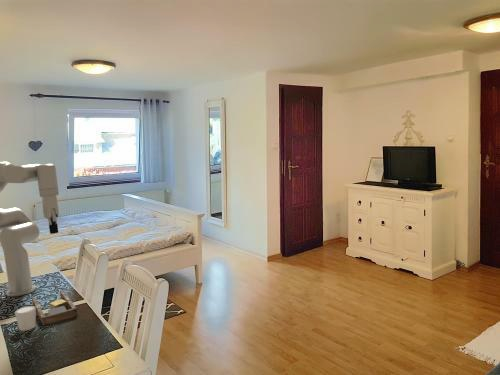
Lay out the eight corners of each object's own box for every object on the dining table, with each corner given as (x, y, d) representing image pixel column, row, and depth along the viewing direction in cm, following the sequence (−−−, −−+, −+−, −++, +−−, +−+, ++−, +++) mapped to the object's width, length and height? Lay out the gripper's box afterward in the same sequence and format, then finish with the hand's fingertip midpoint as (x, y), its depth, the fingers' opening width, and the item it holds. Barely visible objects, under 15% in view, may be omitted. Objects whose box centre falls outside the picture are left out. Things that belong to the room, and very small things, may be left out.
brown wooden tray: (32, 304, 175) (31, 297, 174) (63, 296, 182) (62, 289, 181) (42, 325, 154) (41, 317, 153) (77, 315, 161) (76, 308, 160)
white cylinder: (28, 331, 149) (26, 313, 148) (12, 331, 151) (10, 313, 150) (41, 323, 156) (39, 306, 155) (26, 322, 157) (24, 305, 156)
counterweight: (48, 317, 162) (47, 310, 161) (64, 312, 165) (64, 305, 165) (51, 322, 157) (50, 315, 156) (67, 317, 160) (67, 310, 160)
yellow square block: (50, 310, 169) (49, 303, 168) (62, 305, 172) (61, 298, 172) (55, 312, 165) (55, 305, 165) (67, 308, 169) (67, 301, 169)
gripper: (36, 192, 181) (42, 232, 183) (42, 194, 169) (47, 237, 171) (55, 189, 185) (59, 228, 188) (61, 192, 173) (66, 234, 176)
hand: (54, 233), depth 179 cm, fingers closed
